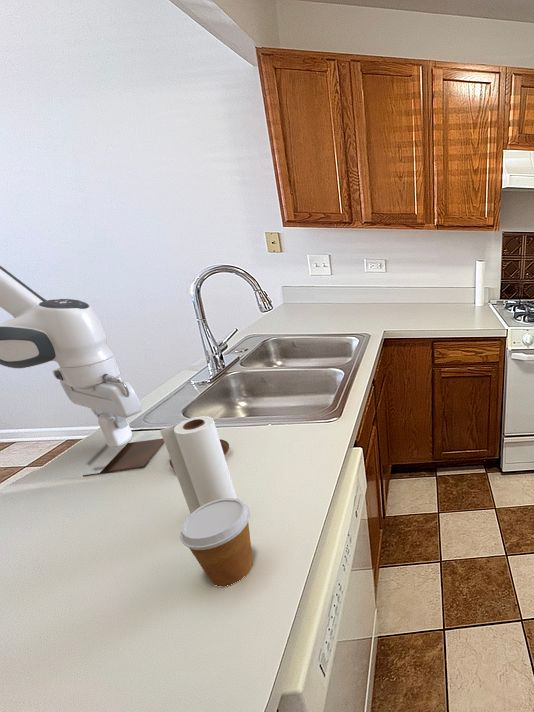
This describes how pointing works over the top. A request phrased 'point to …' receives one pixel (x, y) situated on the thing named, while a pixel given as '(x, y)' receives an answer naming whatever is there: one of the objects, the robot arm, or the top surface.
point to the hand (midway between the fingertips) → (114, 424)
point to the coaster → (133, 456)
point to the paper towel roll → (198, 461)
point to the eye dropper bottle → (113, 431)
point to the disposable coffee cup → (220, 540)
